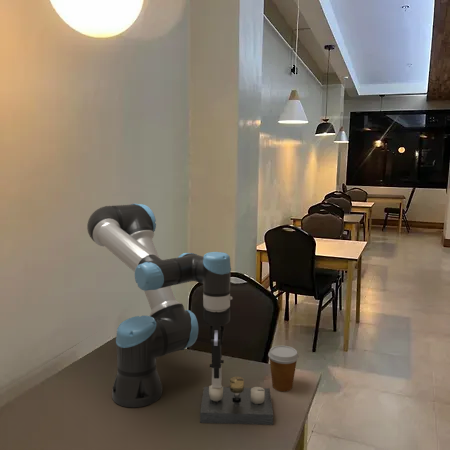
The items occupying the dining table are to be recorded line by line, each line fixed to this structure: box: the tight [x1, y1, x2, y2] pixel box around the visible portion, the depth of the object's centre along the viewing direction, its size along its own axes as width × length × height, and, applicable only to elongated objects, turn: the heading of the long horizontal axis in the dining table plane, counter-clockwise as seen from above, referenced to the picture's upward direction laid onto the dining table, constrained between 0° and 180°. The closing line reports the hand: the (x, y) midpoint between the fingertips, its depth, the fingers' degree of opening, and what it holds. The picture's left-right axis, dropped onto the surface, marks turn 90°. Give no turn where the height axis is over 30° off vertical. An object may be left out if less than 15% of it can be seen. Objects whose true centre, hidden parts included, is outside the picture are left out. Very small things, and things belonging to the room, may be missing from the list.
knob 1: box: [208, 384, 224, 402], centre depth 129 cm, size 4×4×6 cm
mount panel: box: [199, 386, 274, 426], centre depth 129 cm, size 20×14×3 cm
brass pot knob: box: [229, 376, 245, 401], centre depth 128 cm, size 4×4×6 cm
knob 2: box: [250, 386, 265, 404], centre depth 128 cm, size 4×4×6 cm
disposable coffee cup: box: [267, 345, 300, 393], centre depth 141 cm, size 10×10×12 cm
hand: (216, 386), depth 128 cm, fingers closed
